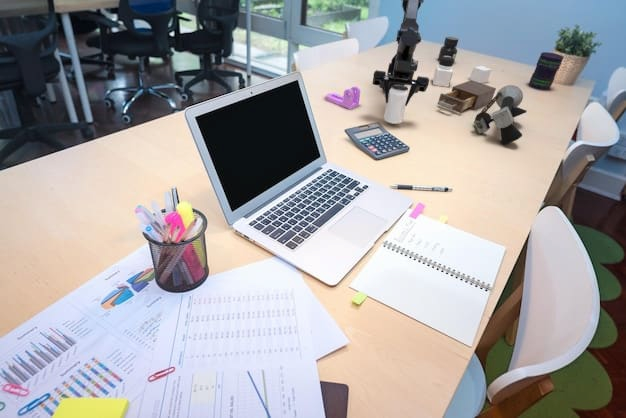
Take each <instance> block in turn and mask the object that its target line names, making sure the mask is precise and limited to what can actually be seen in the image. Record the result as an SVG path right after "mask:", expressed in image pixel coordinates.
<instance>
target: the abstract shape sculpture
mask: <svg viewBox="0 0 626 418" xmlns="http://www.w3.org/2000/svg"><path fill="white" fill-rule="evenodd" d="M523 100H524V94H523V91H522V89H521V88H520V87H519V86H517V85H514V84H509V85H504V86H503V87H501V88H499V90H498V91H497V92H496V95H494V96H493V98H492V100H491V102H490V103H488V104H486V105H485V107H484V108H483V109H482V110H481V111H480V112H479V113H477V114H476V116H475V118H474V121H473V124H474V126H475V128H476V130H477V133H478V135H480V134H482V133H485V132H487V131H489V130H490V129H491V126H490V124H491V123H492V122H494V123H495V126H496V128H497V130H500V139H501V140H500V141H501V144H502V145H508V144H510V143H514V142H516V141H517V140H519V139H520V138H522V137H523V133H522V132H521V131H520V130H519V129H518V128H517V127H516V126H515V125H514V124H513V123H514V119H515V118H516V117H519V116H522V115H523V114H526V113H527V110H526V109H523V108H521V107H519V106H520V105H521V103H522V101H523ZM495 103H496V105H497V106H498V107H499V109H497V110H495V111H493V113H492V114H490V113H488V110H489V109H490V108H492V106H493V105H494V104H495Z"/></svg>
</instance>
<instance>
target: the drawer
mask: <svg viewBox="0 0 626 418" xmlns="http://www.w3.org/2000/svg"><path fill="white" fill-rule="evenodd" d="M475 100H476V96H473V95H470V94H467V93H464V92H461V91H458V90H454V91H452V90H451V91H448V92H446V93H440V95H439V98H438V102H437V105H439V106H442V107H444V108H446V109H449V110H451V111H455V112H457V113H459V114H461V113H463V111H464V110H466V109H470V108H469V107H471V106H473V105H474V102H475Z"/></svg>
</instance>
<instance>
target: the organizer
mask: <svg viewBox="0 0 626 418" xmlns="http://www.w3.org/2000/svg"><path fill="white" fill-rule="evenodd" d="M454 90H458V91H461V92H464V93H467V94H470V95H473V96H476V100H475V102H474V105H473V106H471V107H469V108H468V109H470V110H473V111H475V110H477V109H479V108H482V107H484V106H486V105H488V104H489V103H490V102H491V100H492V99H494V96H495V93H496V90H497V88H496V87H494V86H490V85H488V84H485V83H478V82H475V81H472V80H470V79H469V80H468V81H465V82H462V83H459V84H457V85H456V84H455V85H453V86H452V89H451V92H452V91H454Z"/></svg>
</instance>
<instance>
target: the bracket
mask: <svg viewBox="0 0 626 418" xmlns="http://www.w3.org/2000/svg"><path fill="white" fill-rule="evenodd" d="M360 97H361V89H360V87H358V86H357V85H355V86H353V87H351V88H347V89H345V90H344V91H343V95H341V94H338V93H336V92H335V93H334V92H331V93H327V94H326V100H327V101H328V102H331V103H334V104H336V105H338V106H341V107H344V108H346V109H349V110H351V109H354V108H356V107H358V106H359V104H360Z"/></svg>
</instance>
